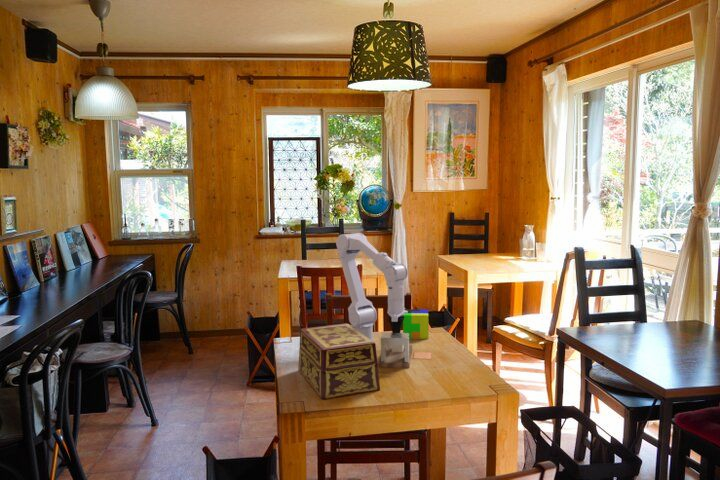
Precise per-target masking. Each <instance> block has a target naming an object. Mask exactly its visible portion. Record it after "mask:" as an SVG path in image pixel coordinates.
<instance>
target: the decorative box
mask: <svg viewBox="0 0 720 480" xmlns="http://www.w3.org/2000/svg"><path fill="white" fill-rule="evenodd" d="M298 348H299V350H298V351H299V352H298V372H299V374H301V376H302V377H303V378H304V379H305V381H306V382H307V383H308V384H309V386H310V387H311V388H312V389H313V391H314V392H315V393H316V394H317V395H318V397H320V399H321V400H322V401H326V400H331V399H332V400H333V399H337V398H344V397H350V396H355V395H360V394H366V393H373V392H377V391H378V392H379V391H381V386H380V385H381V384H380V373H379V365H378V356H377V354H378V353H377V345H376V342H375V341H374V340H373V341H372V340H371V339H369V338H368V337H366V336H365V335H363V334H362V333H361V332H359V331H358V330H356V329H355V328H353V327H352V326H351V324H349V323H339V324H331V325H330V324H329V325H321V326H314V327H306V328H305V327H304V328H301V329H300V332H299V347H298Z"/></svg>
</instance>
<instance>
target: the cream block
mask: <svg viewBox="0 0 720 480" xmlns="http://www.w3.org/2000/svg"><path fill="white" fill-rule="evenodd" d="M392 352H404V349H403V345H392Z"/></svg>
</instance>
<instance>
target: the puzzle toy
mask: <svg viewBox="0 0 720 480" xmlns="http://www.w3.org/2000/svg"><path fill="white" fill-rule="evenodd" d="M404 310H405V311H408V313H407V314H403V315H404V320H403V322H402V333H409V340H410V339H412V340H413V339H415V340H419V339H420V340H422V339H423V340H424V339H425V340H429V335H430V333H429V310H428V309H424V308H423V309H416V308H415V309H413V308H411V309H409V308H408V309H406V308H404Z"/></svg>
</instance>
